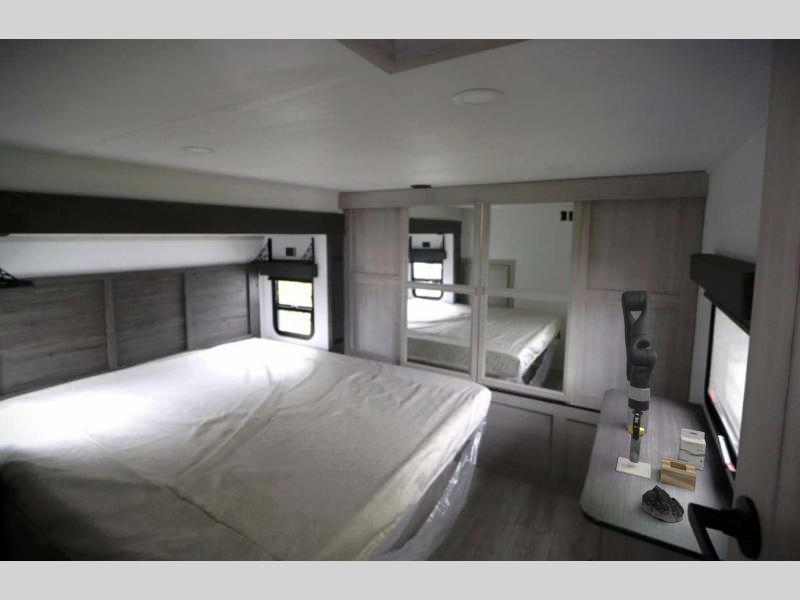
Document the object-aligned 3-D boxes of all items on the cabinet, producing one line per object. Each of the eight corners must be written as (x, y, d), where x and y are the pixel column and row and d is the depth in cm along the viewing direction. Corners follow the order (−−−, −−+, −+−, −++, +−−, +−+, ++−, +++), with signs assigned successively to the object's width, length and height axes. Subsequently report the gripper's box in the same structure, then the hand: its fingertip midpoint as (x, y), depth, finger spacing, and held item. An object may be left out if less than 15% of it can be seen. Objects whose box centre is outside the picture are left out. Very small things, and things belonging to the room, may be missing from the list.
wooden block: (660, 469, 171) (661, 456, 170) (693, 477, 165) (694, 463, 165) (660, 482, 162) (661, 468, 161) (694, 491, 156) (696, 476, 155)
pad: (618, 458, 181) (618, 456, 181) (650, 465, 174) (651, 464, 174) (616, 470, 171) (616, 469, 171) (650, 479, 164) (650, 478, 164)
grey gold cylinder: (626, 456, 176) (629, 422, 174) (642, 459, 173) (644, 425, 171) (625, 461, 171) (628, 427, 169) (641, 465, 168) (644, 430, 166)
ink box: (678, 465, 175) (681, 432, 173) (677, 460, 179) (680, 427, 177) (703, 470, 170) (706, 437, 168) (702, 465, 174) (705, 432, 172)
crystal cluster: (675, 504, 150) (674, 477, 150) (692, 526, 137) (691, 496, 137) (635, 502, 153) (633, 475, 153) (647, 523, 140) (646, 494, 140)
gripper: (629, 389, 176) (626, 427, 179) (627, 400, 164) (624, 440, 167) (650, 393, 172) (647, 431, 175) (649, 404, 160) (645, 445, 163)
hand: (636, 435), depth 171 cm, fingers closed on grey gold cylinder, 5 cm apart
